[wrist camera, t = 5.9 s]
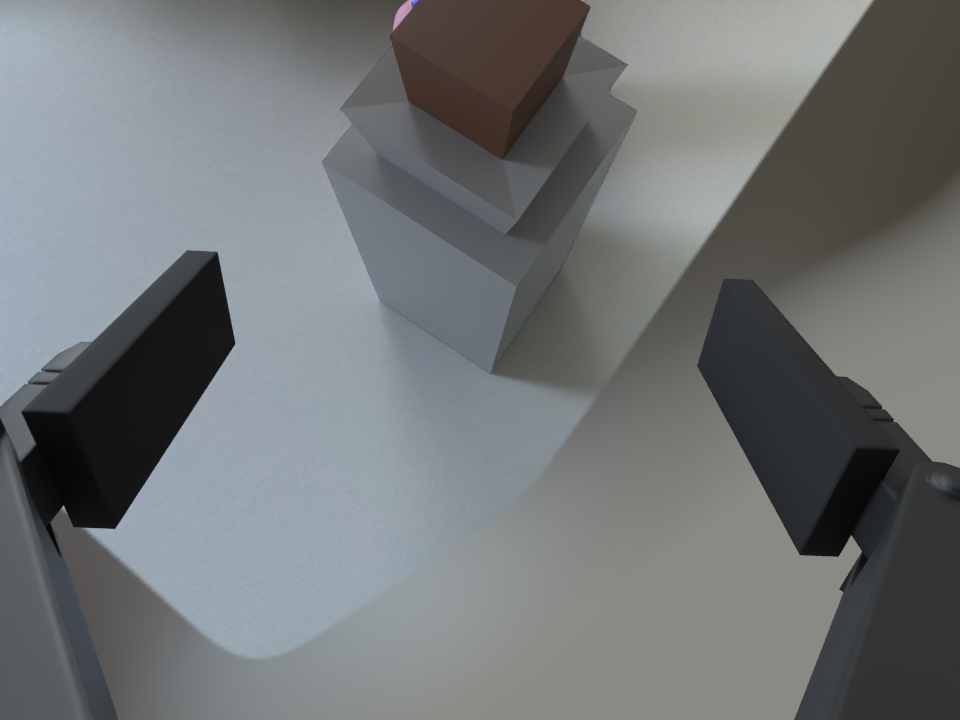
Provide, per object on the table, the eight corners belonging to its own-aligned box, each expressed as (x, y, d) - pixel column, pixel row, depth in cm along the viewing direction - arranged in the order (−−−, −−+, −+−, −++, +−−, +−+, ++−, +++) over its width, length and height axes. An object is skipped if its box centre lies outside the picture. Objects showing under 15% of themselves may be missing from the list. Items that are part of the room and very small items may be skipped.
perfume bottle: (379, 300, 31) (276, 52, 13) (454, 200, 32) (451, -150, 14) (490, 373, 30) (537, 216, 12) (561, 268, 31) (695, -9, 14)
